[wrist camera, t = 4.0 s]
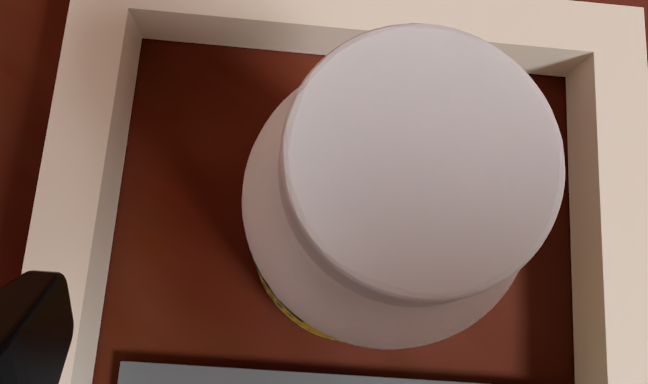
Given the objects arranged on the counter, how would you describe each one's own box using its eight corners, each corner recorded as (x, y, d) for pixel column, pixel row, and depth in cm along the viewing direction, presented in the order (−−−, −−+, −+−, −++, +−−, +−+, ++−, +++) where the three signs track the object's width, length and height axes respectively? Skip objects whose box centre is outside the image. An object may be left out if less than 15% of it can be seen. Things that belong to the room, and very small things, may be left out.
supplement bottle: (215, 265, 17) (138, 181, 8) (328, 123, 19) (380, -97, 9) (368, 383, 17) (483, 446, 7) (473, 230, 18) (688, 115, 9)
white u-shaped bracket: (634, 485, 17) (675, 502, 15) (18, 452, 16) (-14, 467, 14) (611, 36, 20) (643, 7, 18) (97, -14, 19) (78, -49, 17)
